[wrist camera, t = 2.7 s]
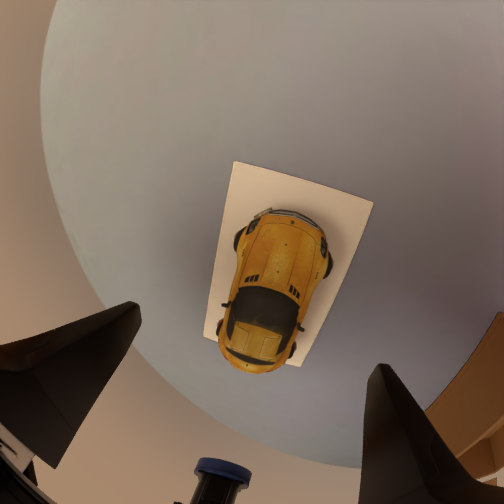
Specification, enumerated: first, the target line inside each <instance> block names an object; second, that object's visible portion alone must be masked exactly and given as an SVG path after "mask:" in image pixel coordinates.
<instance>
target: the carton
mask: <svg viewBox="0 0 504 504" xmlns="http://www.w3.org/2000/svg"><path fill="white" fill-rule="evenodd" d="M424 413H425V415H426V416H427V418H428V419H429V420H430V422H431V423H432V425H433V426H434V428H435V429H436V431H437V432H438V434H439V435H440V436H441V438H442V439H443V441H444V442H445V444H446V445H447V446H448V448H449V449H450V450H451V452H452V453H453V454H454V455H455V457H456V458H457V459H458V460H459V462H460V463H461V464H462V465H463V466H464V468H465V469H466V470H467V471H468V473H469V474H470V475H471V476H472V477H473V478H474V479H476V480H477V479H480V478H482V477H485V476H488V475H491V474H494V473H496V472H497V471H499V470H500V469H501V468H503V467H504V313H500V312H499V313H498V314H497V316H496V318H495V319H494V321H493V323H492V325H491V326H490V328H489V329H488V331H487V333H486V334H485V336H484V337H483V339H482V341H481V342H480V344H479V345H478V347H477V348H476V350H475V351H474V352H473V354H472V355H471V357H470V358H469V360H468V361H467V362H466V364H465V365H464V366H463V368H462V369H461V370H460V372H459V373H458V374H457V375H456V377H455V378H454V379H453V380H452V382H451V383H450V384H449V385H448V387H447V388H446V389H445V390H444V391H443V392H442V394H441V395H440V396H439V397H438V398H437V399H436V400H435V402H434V403H433V404H432V405H431V406H430V407H429V408H428V409H427V410H426V411H425V412H424Z"/></svg>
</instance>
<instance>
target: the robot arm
mask: <svg viewBox="0 0 504 504" xmlns="http://www.w3.org/2000/svg"><path fill="white" fill-rule="evenodd" d="M141 323H142V318H141V312H140V306H139V304H137V303H134V302H132V301H128V302H125V303H123V304H120V305H117V306H115V307H112V308H109V309H107V310H104V311H102V312H99V313H96V314H93V315H91V316H88V317H85V318H83V319H80V320H77V321H74V322H72V323H69V324H66V325H64V326H61V327H58V328H56V329H55V330H54V329H53V330H50V331H48V332H45V333H42V334H39V335H36V336H33V337H29V338H26V339H23V340H18V341H15V342H11V343H7V344H4V345H0V504H57V503H55V502H54V501H53V500H52V499H50V498H49V497H48V496H47V495H46V494H44V493H43V492H42V491H41V490H40V489H39V488H38V487H37V486H38V484H37V479H36V475H35V470H34V465H33V461H32V459H33V457H34V456H35V455H37V456H38V457H39V458H40V459H42V460H43V461H44V462H45V463H47V464H48V465H50V466H51V467H52V468H54V469H56V467H57V466H58V464H59V462H60V460H61V459H62V457H63V455H64V453H65V452H66V450H67V448H68V446H69V445H70V443H71V441H72V440H73V438H74V436H75V434H76V432H77V431H78V429H79V427H80V426H81V424H82V422H83V421H84V419H85V417H86V416H87V414H88V412H89V411H90V409H91V407H92V406H93V404H94V403H95V401H96V400H97V398H98V396H99V395H100V393H101V392H102V390H103V389H104V387H105V385H106V384H107V382H108V381H109V379H110V378H111V376H112V375H113V373H114V371H115V370H116V368H117V367H118V365H119V364H120V362H121V361H122V359H123V358H124V356H125V355H126V353H127V351H128V349H129V347H130V345H131V343H132V341H133V339H134V337H135V336H136V334H137V332H138V330H139V328H140V326H141ZM197 473H198V479H199V483H198V485H197V487H196V490H195V492H194V495H193V497H192V499H191V502H190V504H234V502H235V499H236V496H237V493H238V492H240V491H241V489H242V488H243V486H244V482H242V481H238V480H234V479H230V478H227V477H223V476H219V475H216V474H213V473H209V472H206V471H203V470H198V472H197ZM174 504H182V503H180V502H174ZM358 504H504V487H499V486H494V485H490V484H486V483H482V482H479V481H477V480H476V479H474V478H473V477H472V476H471V475H470V474H469V473H468V471H467V470H466V469H465V468H464V466H463V465H462V464H461V463H460V462H459V460H458V459H457V458H456V457H455V455H454V454H453V453H452V452H451V450H450V449H449V448H448V446H447V445H446V444H445V442H444V441H443V439H442V438H441V436H440V435H439V434H438V432H437V431H436V429H435V428H434V426H433V425H432V423H431V422H430V420H429V419H428V418H427V416H426V415H425V413H424V412H423V410H422V409H421V408H420V406H419V405H418V403H417V402H416V401H415V399H414V398H413V396H412V395H411V394H410V392H409V391H408V389H407V388H406V387H405V385H404V384H403V383H402V381H401V380H400V378H399V377H398V376H397V374H396V373H395V372H394V370H393V369H392V368H391V366H390V365H389V364H383V363H379V364H378V365H377V366H376V367H375V369H374V371H373V372H372V374H371V375H370V377H369V379H368V383H367V394H366V404H365V412H364V430H363V456H362V471H361V484H360V492H359V501H358Z"/></svg>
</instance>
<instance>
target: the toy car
mask: <svg viewBox="0 0 504 504" xmlns="http://www.w3.org/2000/svg"><path fill="white" fill-rule="evenodd" d="M373 204H374V203H373V202H371V201H368V200H365V199H362V198H359V197H357V196H354V195H351V194H348V193H345V192H342V191H339V190H336V189H333V188H330V187H327V186H324V185H320V184H317V183H314V182H311V181H307V180H304V179H301V178H297V177H294V176H290V175H287V174H283V173H279V172H276V171H272V170H268V169H265V168H261V167H257V166H253V165H249V164H245V163H241V162H236V161H234V165H233V169H232V174H231V179H230V184H229V189H228V194H227V199H226V204H225V209H224V215H223V220H222V225H221V231H220V236H219V242H218V247H217V253H216V259H215V264H214V270H213V276H212V282H211V288H210V294H209V300H208V307H207V313H206V320H205V326H204V333H203V337H206V338H209V339H211V340H214V341H217V342H218V343H219V347H220V350H221V352H222V354H223V355H224V357H225V358H226V359H227V360H228V361H229V362H230V363H231V364H232V365H233V366H234V367H236V368H237V369H240V370H242V371H244V372H248V373H253V374H260V373H263V372H270V371H273V370H275V369H277V368H279V367H280V366H281V365H283V364H284V363H286V364H290V365H293V366H297V367H300V366H301V365H302V363H303V361H304V359H305V357H306V355H307V354H308V352H309V350H310V348H311V346H312V344H313V342H314V340H315V338H316V336H317V334H318V332H319V330H320V328H321V326H322V324H323V322H324V320H325V318H326V316H327V314H328V312H329V310H330V308H331V306H332V304H333V302H334V300H335V297H336V295H337V293H338V291H339V289H340V286H341V284H342V282H343V280H344V277H345V275H346V273H347V270H348V268H349V266H350V263H351V261H352V259H353V256H354V254H355V251H356V249H357V246H358V244H359V241H360V239H361V236H362V234H363V231H364V228H365V226H366V223H367V220H368V218H369V215H370V212H371V209H372V207H373Z"/></svg>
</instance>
